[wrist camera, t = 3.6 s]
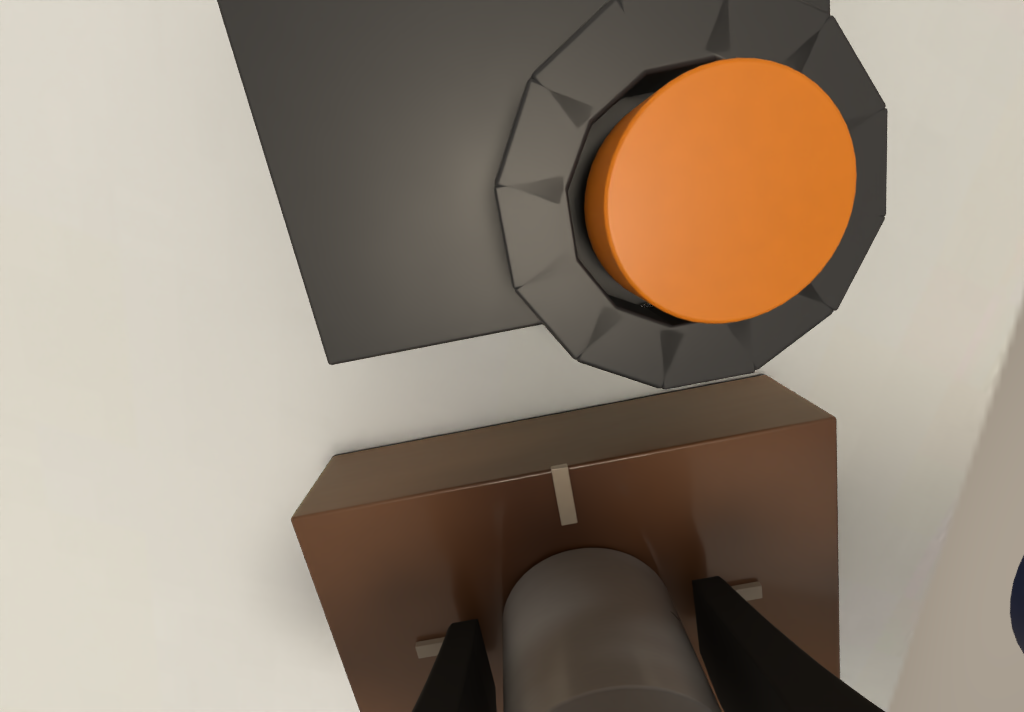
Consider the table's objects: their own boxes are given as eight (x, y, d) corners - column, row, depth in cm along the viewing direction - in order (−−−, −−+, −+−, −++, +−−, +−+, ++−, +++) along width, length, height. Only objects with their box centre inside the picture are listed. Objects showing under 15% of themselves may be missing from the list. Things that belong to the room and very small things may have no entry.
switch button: (785, 67, 8) (858, 30, 7) (793, 283, 9) (859, 299, 8) (568, 111, 8) (586, 86, 7) (598, 321, 9) (621, 345, 8)
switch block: (762, -122, 11) (913, -313, 7) (781, 307, 13) (899, 346, 9) (253, -13, 11) (119, -136, 7) (368, 386, 13) (316, 456, 10)
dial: (661, 532, 11) (740, 685, 8) (679, 670, 12) (755, 861, 9) (487, 563, 11) (481, 729, 8) (519, 697, 13) (528, 898, 9)
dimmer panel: (765, 370, 14) (842, 415, 11) (779, 615, 16) (845, 711, 13) (331, 451, 14) (284, 519, 11) (404, 680, 16) (383, 789, 13)
